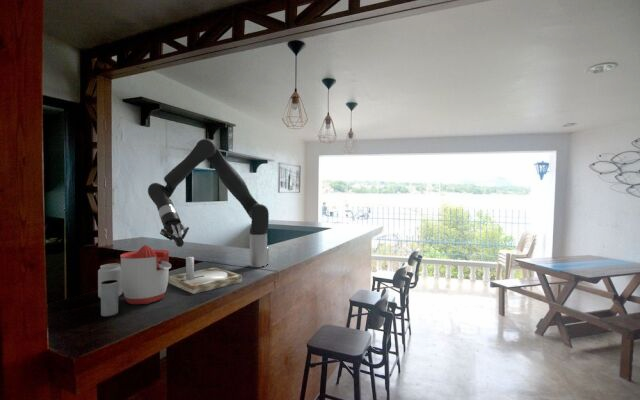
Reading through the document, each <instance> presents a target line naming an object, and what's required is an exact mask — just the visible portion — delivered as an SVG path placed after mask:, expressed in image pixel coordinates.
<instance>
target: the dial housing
mask: <svg viewBox="0 0 640 400" xmlns="http://www.w3.org/2000/svg"><path fill="white" fill-rule="evenodd" d="M200 271H223V272H226V273H227V278H223V279H218V280H214V281H209V282H205V283H200V284H192V283H190V282H188V281H185V280H183V277H184V276H185V275H186V272H183V273H177V274H172V275H169V278H168V284H170V285H172V286H174V287H177V288H179V289H180V290H183V291H185V292H187V293H190V294H192V295H196V294H200V293H202V292H208V291H211V290H215V289H218V288H219V289H220V288H224V287H228V286H232V285H236V284H241V283H242V282H243V275H242V274H241V273H240V274H239V273H235V272H232V271H229V270H226V269H222V268H220V267H216V266H215V267H210V268H209V267H208V268H205V269H199V270H194V272H200Z"/></svg>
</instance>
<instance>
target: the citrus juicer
mask: <svg viewBox="0 0 640 400" xmlns="http://www.w3.org/2000/svg"><path fill="white" fill-rule="evenodd" d="M169 256H170V251H169V250H166V249H152V247H150V246H149V245H147V244H144V245H142V246H141V248H139V249H138V250H134V251H128V252H123V253H121V254H120V255H119V257H120V266H121V286H122V290H123V293H122V294H123V295H124V299H125V300H126V303H127V304H130V305H149V304H150V303H154V302H157V301H160V300H162V299H164V297H165V294H166V292H167V287H168V284H169V276H170V275H169V272H170V271H169V270H170V269H171V268H172V264H171V263H170V261H169V260H170V257H169Z"/></svg>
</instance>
